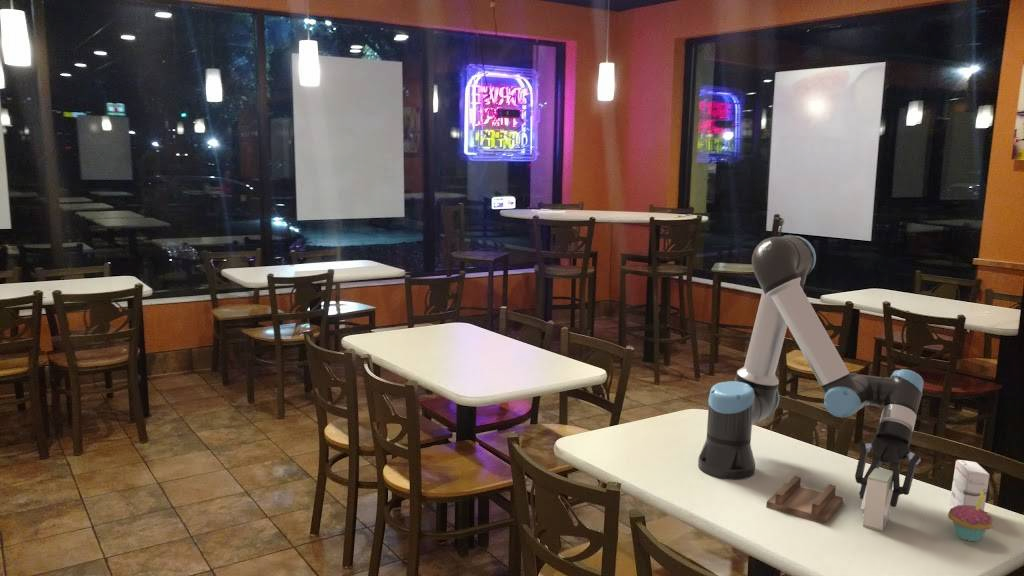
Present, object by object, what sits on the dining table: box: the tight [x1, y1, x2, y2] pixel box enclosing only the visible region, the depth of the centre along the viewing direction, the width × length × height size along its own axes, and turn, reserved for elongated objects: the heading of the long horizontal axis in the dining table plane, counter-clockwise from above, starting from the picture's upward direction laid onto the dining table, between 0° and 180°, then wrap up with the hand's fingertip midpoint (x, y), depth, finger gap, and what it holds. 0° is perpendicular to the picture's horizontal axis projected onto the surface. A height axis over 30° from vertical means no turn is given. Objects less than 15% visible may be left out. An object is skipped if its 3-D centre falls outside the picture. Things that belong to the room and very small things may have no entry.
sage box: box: [862, 467, 893, 532], centre depth 178 cm, size 4×8×12 cm, turn 143°
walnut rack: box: [766, 475, 844, 525], centre depth 187 cm, size 14×15×4 cm
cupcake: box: [947, 489, 993, 542], centre depth 172 cm, size 9×8×12 cm
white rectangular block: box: [949, 459, 990, 511], centre depth 185 cm, size 9×5×12 cm, turn 168°
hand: (874, 514), depth 175 cm, fingers closed on sage box, 4 cm apart
